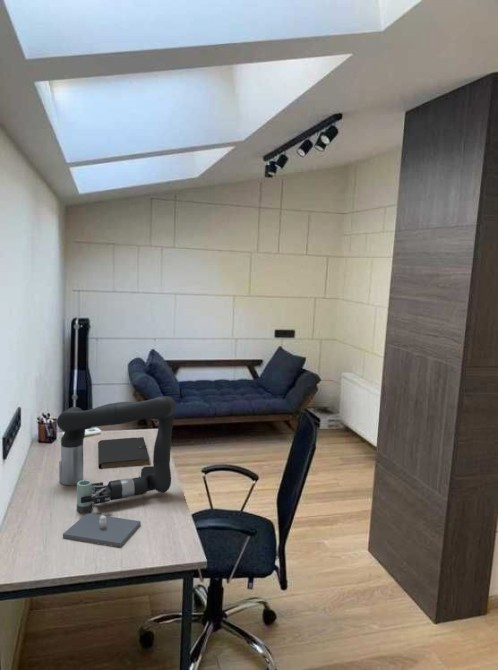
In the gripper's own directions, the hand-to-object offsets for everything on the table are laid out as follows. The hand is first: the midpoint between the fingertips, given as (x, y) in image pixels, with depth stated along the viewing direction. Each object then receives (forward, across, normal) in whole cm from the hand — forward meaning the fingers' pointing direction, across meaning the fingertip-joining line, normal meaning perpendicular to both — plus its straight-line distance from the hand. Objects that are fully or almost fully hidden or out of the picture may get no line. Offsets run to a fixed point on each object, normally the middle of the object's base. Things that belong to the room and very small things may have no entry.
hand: (79, 495), depth 196 cm
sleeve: (-2, 0, +6) cm, 6 cm away
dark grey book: (-30, -54, +7) cm, 62 cm away
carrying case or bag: (-35, -21, +7) cm, 41 cm away
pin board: (-5, +20, +6) cm, 21 cm away
